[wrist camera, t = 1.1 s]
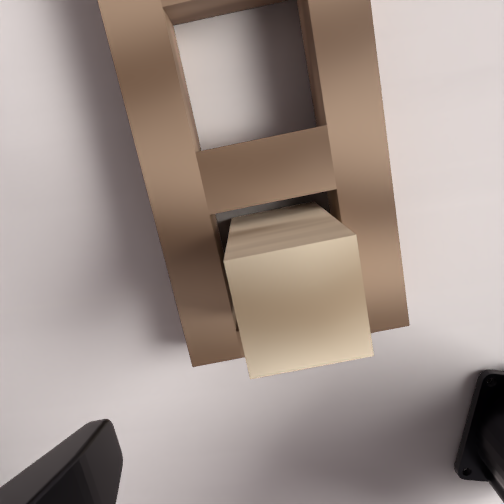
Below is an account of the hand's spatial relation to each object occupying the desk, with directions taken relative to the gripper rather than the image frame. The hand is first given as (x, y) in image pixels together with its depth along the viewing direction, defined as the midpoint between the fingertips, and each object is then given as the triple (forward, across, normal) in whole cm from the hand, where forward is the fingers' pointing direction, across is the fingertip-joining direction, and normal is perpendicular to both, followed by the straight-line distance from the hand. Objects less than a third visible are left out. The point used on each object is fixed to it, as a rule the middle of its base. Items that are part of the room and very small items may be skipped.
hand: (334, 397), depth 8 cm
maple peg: (+13, 0, 0) cm, 13 cm away
